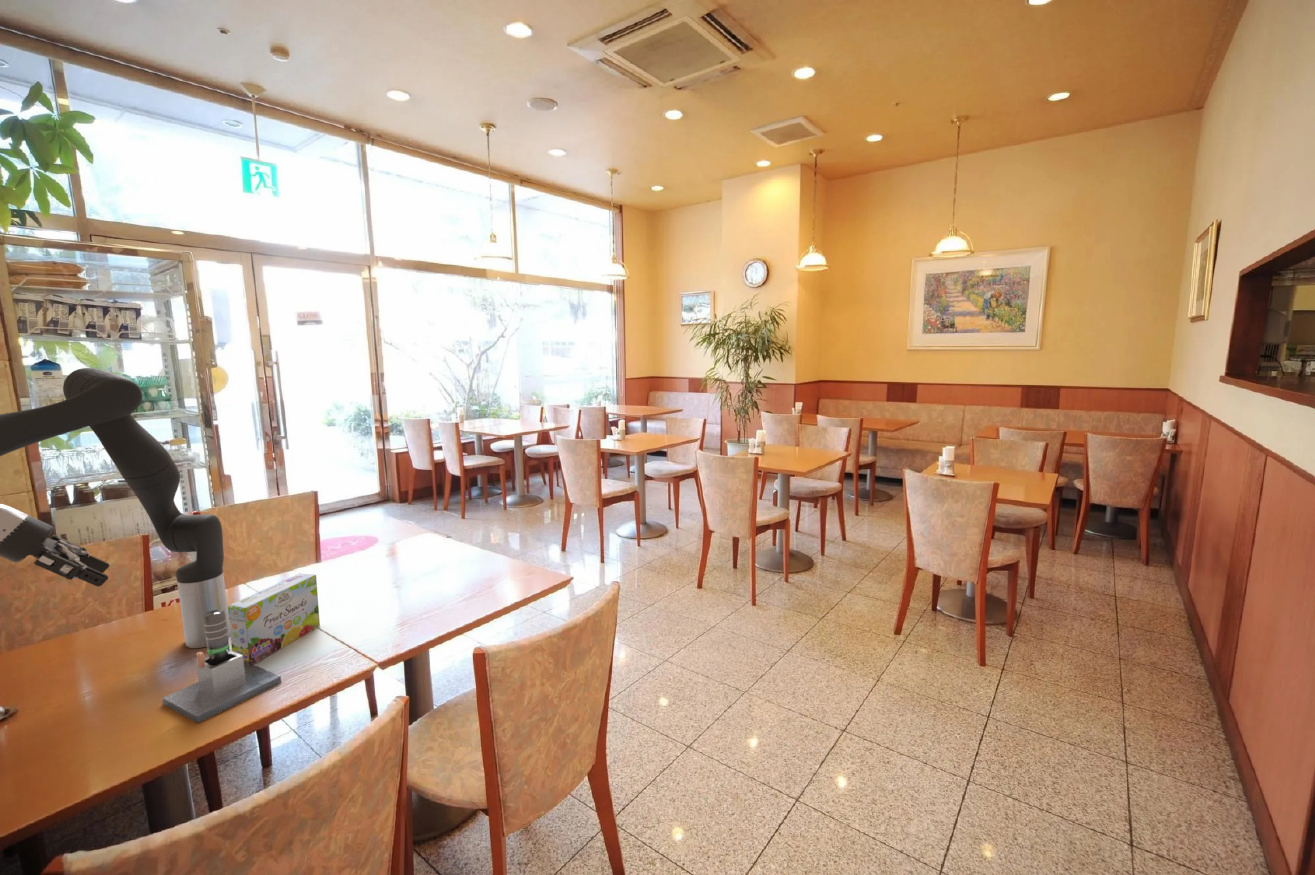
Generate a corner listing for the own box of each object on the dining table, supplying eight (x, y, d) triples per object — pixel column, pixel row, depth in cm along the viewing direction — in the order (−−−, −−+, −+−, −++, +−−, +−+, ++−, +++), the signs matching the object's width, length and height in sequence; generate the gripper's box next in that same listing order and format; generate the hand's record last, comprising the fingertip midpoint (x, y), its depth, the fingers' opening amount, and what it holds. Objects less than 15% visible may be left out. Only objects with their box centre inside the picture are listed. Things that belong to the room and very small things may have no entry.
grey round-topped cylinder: (206, 669, 122) (199, 615, 120) (225, 661, 125) (219, 608, 123) (215, 674, 120) (208, 618, 118) (235, 665, 123) (228, 611, 121)
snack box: (252, 668, 133) (245, 607, 131) (232, 665, 134) (225, 605, 132) (322, 626, 154) (316, 573, 152) (304, 624, 155) (298, 571, 153)
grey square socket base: (163, 704, 119) (156, 655, 118) (246, 667, 133) (240, 623, 132) (198, 723, 113) (191, 672, 111) (281, 682, 127) (276, 636, 126)
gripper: (20, 522, 97) (122, 569, 106) (30, 506, 107) (122, 550, 117) (-22, 560, 94) (86, 604, 104) (-8, 539, 104) (89, 581, 114)
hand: (105, 575), depth 110 cm, fingers open, 8 cm apart
